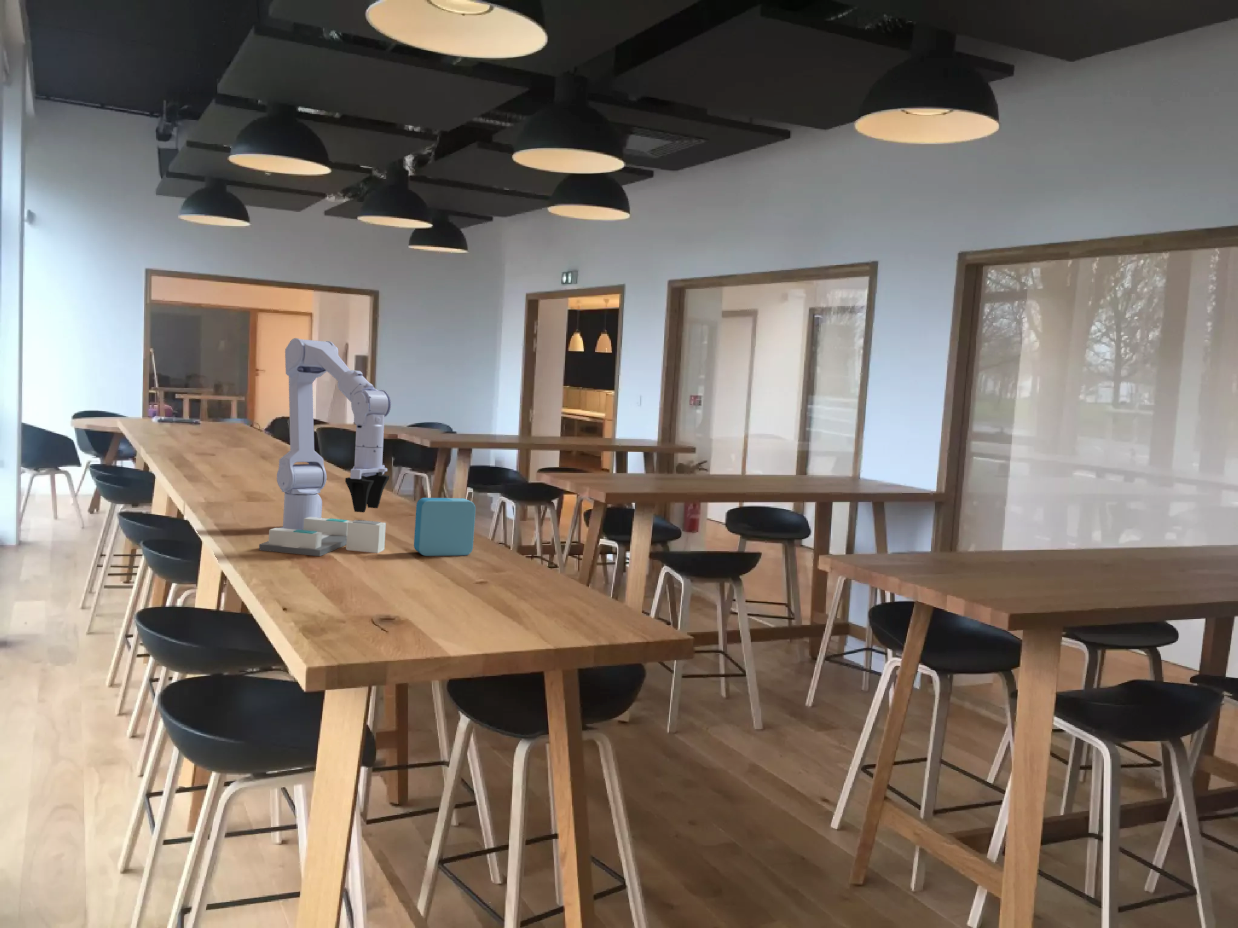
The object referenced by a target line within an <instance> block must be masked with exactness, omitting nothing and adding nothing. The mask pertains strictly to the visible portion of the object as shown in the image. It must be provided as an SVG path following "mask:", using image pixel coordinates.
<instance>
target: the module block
mask: <svg viewBox="0 0 1238 928" xmlns="http://www.w3.org/2000/svg"><path fill="white" fill-rule="evenodd" d="M349 521H350V522H348V525H347V543H346V545H345V546H346V547H345V550H347V551H354V552H364V553H373V554H379V553H381V552H384V551H385V546H386V545H385V543H386V526H387V522H381V521H373V520H365V519H354V520H349Z"/></svg>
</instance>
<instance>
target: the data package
mask: <svg viewBox="0 0 1238 928" xmlns="http://www.w3.org/2000/svg"><path fill="white" fill-rule="evenodd" d="M414 522H415V523H414V538H413V548H414V549H415V551H416V552H417V553H419V554H420V555H422V556H423V557H440V556H441V557H444V556H447V557H450V556H451V557H452V556H453V557H454V556H459V557H460V556H469V555H470V554H471V553H472V552H473V549H474V538H475V537H474V536H475V524H476V523H475V522H476V505H475V503H474V502H473V501H471V500H469V499H467V498H462V497H453V498H452V497H422V498H420V499H418V501H417V502H416V507H415V521H414Z"/></svg>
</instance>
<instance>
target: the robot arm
mask: <svg viewBox="0 0 1238 928" xmlns="http://www.w3.org/2000/svg"><path fill="white" fill-rule="evenodd" d="M284 349H285V350H284V353H285V354H284V360H285V361H284V362H285V375H286V376H288V402H289V403H288V407H289V409H288V411H289V446H290V447H289V448H290V450H289V451H288V452H286V454H284V455H283V456H282V457H281V458H279V459H278V469H277V473H276V482H277V485H278V487H279V489H280V490H281V493H284V497H283V498H284V499H283V519H282V521H283V522H282V526H281V527H279V528H284V529H294V530H302V529H303V528H304V518H307V517H317V518H322V515H323V514H322V511H323V500H322V498H321V496H320V495H319V494H321V491H322V490H323V489H324V487H325V485H326V483H327V479H328V478H327V477H328V476H327V471H326V468H325V464H324V463H325V462H324V460H325V459H324V457H323V456H321V455H320V454H319V453H318V452H317V451H315V430H314V424H315V423H314V391H313V390H314V389H313V387H314V384H313V383H314V381H316V379H317V378H319V377H322V376H323V375H324V374H325V373H328V374H329V375H331V376H332V377H333V378H334V379H335V380H336V381H337V388H338V390H339V391H340V392H341V393H342V394H343V395H344V397H346V399H348V401H349V402H350V403H351V404H350V407H351V410H352V414H353V422H354V425H356V426H355V447H354V449H355V450H354V466H353V467H352V468H351V469H350V476H349V477H345V479H344V481H345V485H346V486H347V488H348V491H349V493H350V496H351V501H352V506H353V512H354V513H366V509H367V508H371V509H378V508H379V506H380V502H381V499H382V496H383V492H384V490H385V487H386V485H387V483H388V481H390V475H388V474H385V473H386V472H388V468H387V467H385V464H383V458H384V457H383V456H384V455H383V454H384V453H383V452H384V434H385V433H384V431H385V418H386V417H387V416H388V415H389V413H390V411H391V407H392V401H391V397H390V395H389V393H388V392H387V391H386V390H384V389H376V387H374V385H373V384H372V383H370V382H369V381H368V380H367V379H366V377H365V376H363V374H364V373H363V372H362V371H361V370H355V369H350V368H349V367H348V365H347V364H346V362H344V361H343V359H342V358H341V357H340V355H339V348H338V347H337V346H336V345H335V344H334V342H333V341H330V340H329V341H328V340H326V341H322V340H314V339H313V340H312V339H302V338H297V337H295V338H292V339H291V340H290V341H289V342H288V344H287V345H286V348H284ZM296 463H297V464H296ZM299 463H300V464H299Z"/></svg>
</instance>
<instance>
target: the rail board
mask: <svg viewBox="0 0 1238 928" xmlns="http://www.w3.org/2000/svg"><path fill="white" fill-rule="evenodd" d="M350 521H351V520H348V519H342V518H341V519H339V518H332V517H331V518H324V517H321V518H317V517H307V518H304V528H303V529H302V530H294V529H284V528H280V527H274V528H271V529H268V540H267V541H265V542H262V543H259V544H258V551H266V552H274V553H276V552H277V553H284V554H285V553H287V554H293V555H294V554H295V555H305V556H314V557H315V556H316V557H321V556H323V555H326V554H328V553H331V552H334V551H335V550H338V549H340V548H342V547H345V546H346V543H347V525H348V522H350Z"/></svg>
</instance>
